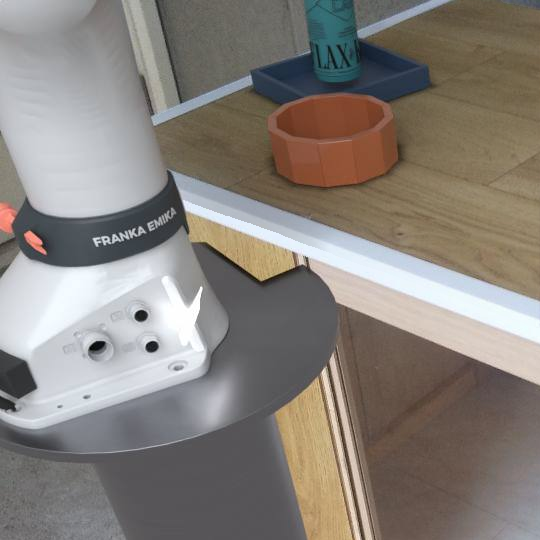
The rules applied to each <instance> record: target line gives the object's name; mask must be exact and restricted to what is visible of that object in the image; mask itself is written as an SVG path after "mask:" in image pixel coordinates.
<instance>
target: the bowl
mask: <svg viewBox="0 0 540 540" xmlns="http://www.w3.org/2000/svg"><path fill="white" fill-rule="evenodd" d="M395 126H396V125H395V117H394V114H393V110H392V107H391V104H390V103H387V101H386V102H384V101H381V100H379V99H377V98H375V97H373V96H370V95H361V94H351V93H342V92H341V93H331V94H321V95H311V96H308V97H305V98H302V99H298V100H295V101H292V102H289V103H286V104H284V105H280V106H279V107H278V108H277V109H275V111H273V112H271V114H269V115H268V116H267V129H268V130H267V131H268V135H269V140H270V146H271V149H272V154H273V159H274V163H275V167H276V173H277V174H278V175H280V176H282V177H283V178H285V179H286V180H288V181H291V182H292V183H294V184H297V185H305V186H313V187H319V188H320V187H321V188H331V187H332V188H333V187H340V186H348V185H358V184H362V183H365V182H367V181H370V180H372V179H375V178H377V177H380V176H383V175H385V174H387V173H388V171H389V170H390V169H391V168H392V167H393V166H394V165H395V164H396V163H397V162H398V161H399V158H400V157H399V152H398V143H397V135H396V133H397V132H396V127H395Z"/></svg>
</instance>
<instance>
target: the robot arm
mask: <svg viewBox="0 0 540 540" xmlns="http://www.w3.org/2000/svg"><path fill="white" fill-rule="evenodd" d="M134 51H135V50H134V46H133V42H132V38H131V34H130V29H129V25H128V21H127V16H126V13H125V8H124V4H123V0H0V133H1V136H2V138H3V141H4V143H5V146H6V148H7V150H8V153H9V156H10V158H11V161H12V163H13V166H14V168H15V171H16V172H17V175H18V178H19V180H20V183H21V185H22V188H23V190H24V193H25V195H26V196H25V198H24V200H23V202H22V205H21V207H20V208H19V210H16V209H15V207H13V206H12V205H11V204H9V203H8V202H4V201H3V202H2V201H0V230H1V231H2V232H4V233H7V234H13V236H14V238H15V240H16V242H17V245H18V248H19V249H20V251H19V252H18V254H17V255H16V256H15V258H14V259H13V260H12V262H11V264H10V265H9V266H8V267H7V269H6V270H5V272H4V273H3V274H2V276H1V277H0V419H2V420H3V421H5V422H7V423H10V424H12V425H15V426H18V427H22V428H27V429H41V428H45V427H48V426H51V425H55V424H58V423H61V422H64V421H67V420H70V419H73V418H76V417H79V416H82V415H85V414H88V413H92V412H95V411H98V410H101V409H104V408H107V407H110V406H113V405H116V404H119V403H122V402H125V401H128V400H131V399H135V398H138V397H141V396H144V395H147V394H150V393H153V392H156V391H159V390H162V389H165V388H168V387H171V386H175V385H178V384H181V383H184V382H187V381H190V380H193V379H196V378H199V377H201V376H203V375H204V374H206V373H207V371H208V370H209V367H210V362H211V355H212V353H213V351H214V350H215V349H216V347H217V346H218V345H219V344H220V343H221V341H222V340H223V339H224V337H225V335H226V333H227V331H228V327H229V317H228V314H227V312H226V310H225V309H224V307H223V306H222V304H221V303H220V302H219V300H218V298H217V297H216V295H215V294H214V292H213V290H212V288H211V286H210V285H209V283H208V281H207V279H206V277H205V275H204V273H203V271H202V268H201V266H200V264H199V262H198V259H197V257H196V255H195V252H194V250H193V247H192V245H191V242H192V241H191V240H190V236H189V235H190V226H189V224H188V223H189V222H188V219H187V218H188V217H187V216H188V215H187V211H186V208H185V207H186V206H185V205H184V200H183V198H182V195H181V192H180V190H179V187H178V185H177V183H176V180H175V176H174V174H173V172H172V171H171V170H169V169H167V166H166V163H165V160H164V156H163V153H162V149H161V146H160V144H159V139H158V136H157V132H156V129H155V126H154V121H153V118H152V115H151V112H150V109H149V104H148V101H147V98H146V94H145V92H144V88H143V87H144V86H143V83H142V81H141V76H140V73H139V69H138V63H137V59H136V55H135V52H134Z"/></svg>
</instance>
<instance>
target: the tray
mask: <svg viewBox="0 0 540 540" xmlns="http://www.w3.org/2000/svg"><path fill="white" fill-rule="evenodd" d="M359 39H360V41H359ZM358 41H359V49H360V47H361V53H360V55H361V56H362V57H361V59H362V60H361V63H362V67H363V68H362V72H361V75H360V76H359V77H357V78H355V79H352V80H349V81H344V82H326V81H322V80H320V79H318V78H317V76H316V74H315V71H314V69H313V67H314V65H313V64H312V59H311V58H312V57H311V51H309V52H307V53H304V54H300V55H297V56H293V57H290V58H286V59H283V60H280V61H277V62H274V63H270V64H267V65H266V64H265V65H264V66H263V65H262V66H260V67H256V68H253V69H250V70H249V72H250V77H251V82H252V86H253V90H254V92H257V93H258V94H260V95H262V96H264V97H266V98H268V99H270V100H272V101H273V102H276V103H278V104H279V105H280V106H282V105H284V104H286V103H289V102H292V101H295V100H298V99H302V98H305V97H308V96H311V95H321V94H331V93H341V92H342V93H351V94H361V95H370V96H373V97H375V98H377V99H379V100H381V101H384V102H386V103H387V102H389V101H392V100H394V99H398V98H400V97H403V96H406V95H409V94H412V93H415V92H418V91H421V90H424V89H426V88H430V87H431V80H430V79H431V77H430V68H429V66H428V65H427V64H424V63H422V62H419V61H417V60H414V59H412V58H410V57H407V56H406V55H403V54H401V53H398V52H395V51H393V50H391V49H389V48H386V47H383V46H381V45H379V44H376V43H373V42H371V41H369V40H367V39H364V38H362V37H358Z"/></svg>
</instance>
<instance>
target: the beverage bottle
mask: <svg viewBox="0 0 540 540" xmlns="http://www.w3.org/2000/svg"><path fill="white" fill-rule="evenodd" d="M302 1H303V6H304V16H303V17H304V18H305V22H306V27H305V28H306V32H307V36H308V37H307V38H308V45H309V51H310V52H311V57H312V58H311V59H312V64H313V65H314V67H313V69H314V71H315V74H316V76H317V78H318V79H320V80H322V81H326V82H344V81H349V80H352V79H355V78H357V77H359V76H360V75H361V72H362V68H363V67H362V63H361V60H362V59H361V57H362V56H361V55H360V53H361V47H360V49H359V41H360V39H359V41H358V38H359V34H358V25H357V20H356V13H355V4H356V3H355V1H354V0H302Z"/></svg>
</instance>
